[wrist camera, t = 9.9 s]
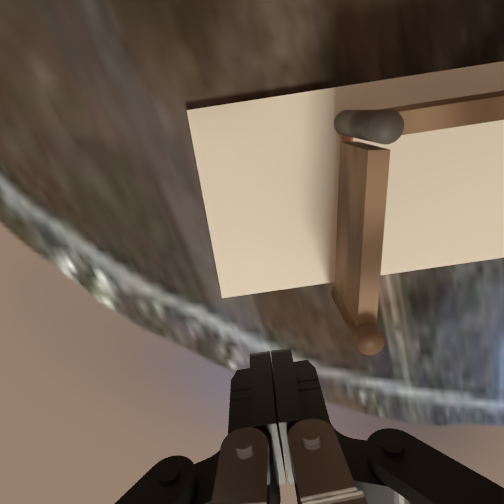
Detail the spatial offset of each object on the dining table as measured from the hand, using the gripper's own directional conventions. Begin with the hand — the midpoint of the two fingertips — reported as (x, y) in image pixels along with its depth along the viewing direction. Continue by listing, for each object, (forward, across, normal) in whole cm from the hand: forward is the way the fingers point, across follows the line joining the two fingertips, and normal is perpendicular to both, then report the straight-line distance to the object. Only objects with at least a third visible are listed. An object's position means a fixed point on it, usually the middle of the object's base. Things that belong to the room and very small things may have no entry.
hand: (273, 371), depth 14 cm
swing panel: (+11, -5, -1) cm, 13 cm away
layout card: (+12, -8, -3) cm, 15 cm away
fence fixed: (+12, -11, -7) cm, 18 cm away
